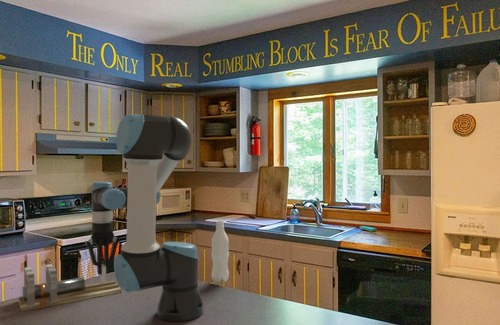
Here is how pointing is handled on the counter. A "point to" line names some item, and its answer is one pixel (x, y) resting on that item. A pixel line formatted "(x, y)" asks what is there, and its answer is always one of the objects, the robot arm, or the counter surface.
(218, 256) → the water bottle
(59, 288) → the tube
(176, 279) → the robot arm
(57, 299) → the rail
